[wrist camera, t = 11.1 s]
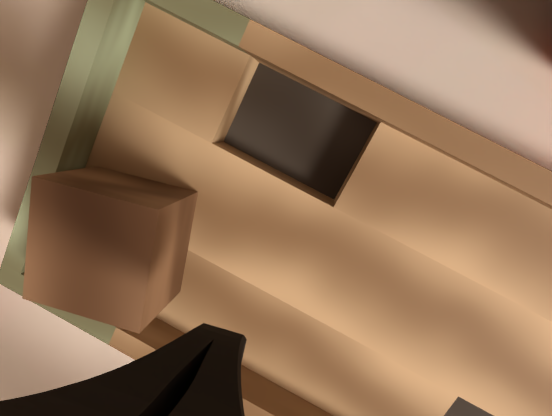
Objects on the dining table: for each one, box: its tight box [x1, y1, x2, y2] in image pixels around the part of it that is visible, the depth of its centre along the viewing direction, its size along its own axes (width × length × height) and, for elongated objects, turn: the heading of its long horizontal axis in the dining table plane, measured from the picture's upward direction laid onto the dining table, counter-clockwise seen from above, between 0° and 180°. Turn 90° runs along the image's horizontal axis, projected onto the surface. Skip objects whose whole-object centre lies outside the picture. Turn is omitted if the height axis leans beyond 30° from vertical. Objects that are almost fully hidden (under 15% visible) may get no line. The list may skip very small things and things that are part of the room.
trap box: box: [0, 0, 552, 416], centre depth 17 cm, size 15×33×4 cm, turn 63°
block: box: [23, 166, 198, 334], centre depth 17 cm, size 5×5×4 cm
